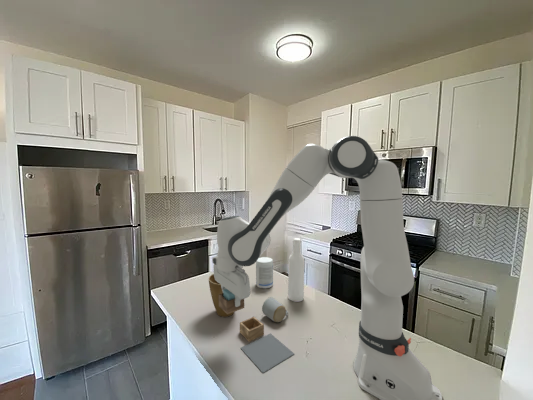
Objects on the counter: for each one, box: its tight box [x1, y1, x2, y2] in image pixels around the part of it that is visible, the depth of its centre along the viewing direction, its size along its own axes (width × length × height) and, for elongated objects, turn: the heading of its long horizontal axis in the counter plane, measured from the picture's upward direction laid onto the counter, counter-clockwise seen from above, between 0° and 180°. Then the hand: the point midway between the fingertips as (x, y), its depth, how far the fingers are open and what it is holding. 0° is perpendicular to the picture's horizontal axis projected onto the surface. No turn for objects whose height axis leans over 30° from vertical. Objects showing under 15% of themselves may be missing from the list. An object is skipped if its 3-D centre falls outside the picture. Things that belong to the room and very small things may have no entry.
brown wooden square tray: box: [218, 293, 245, 314], centre depth 81 cm, size 7×7×4 cm
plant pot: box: [208, 273, 235, 318], centre depth 102 cm, size 15×15×16 cm
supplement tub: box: [255, 256, 274, 289], centre depth 129 cm, size 10×10×15 cm
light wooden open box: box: [239, 316, 265, 343], centre depth 88 cm, size 7×7×4 cm
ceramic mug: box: [261, 297, 289, 323], centre depth 99 cm, size 11×8×8 cm
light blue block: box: [223, 289, 235, 301], centre depth 81 cm, size 4×4×6 cm
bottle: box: [287, 237, 305, 302], centre depth 114 cm, size 8×8×30 cm
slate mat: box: [240, 333, 295, 374], centre depth 78 cm, size 13×13×1 cm
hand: (231, 301), depth 81 cm, fingers closed on brown wooden square tray, 7 cm apart
